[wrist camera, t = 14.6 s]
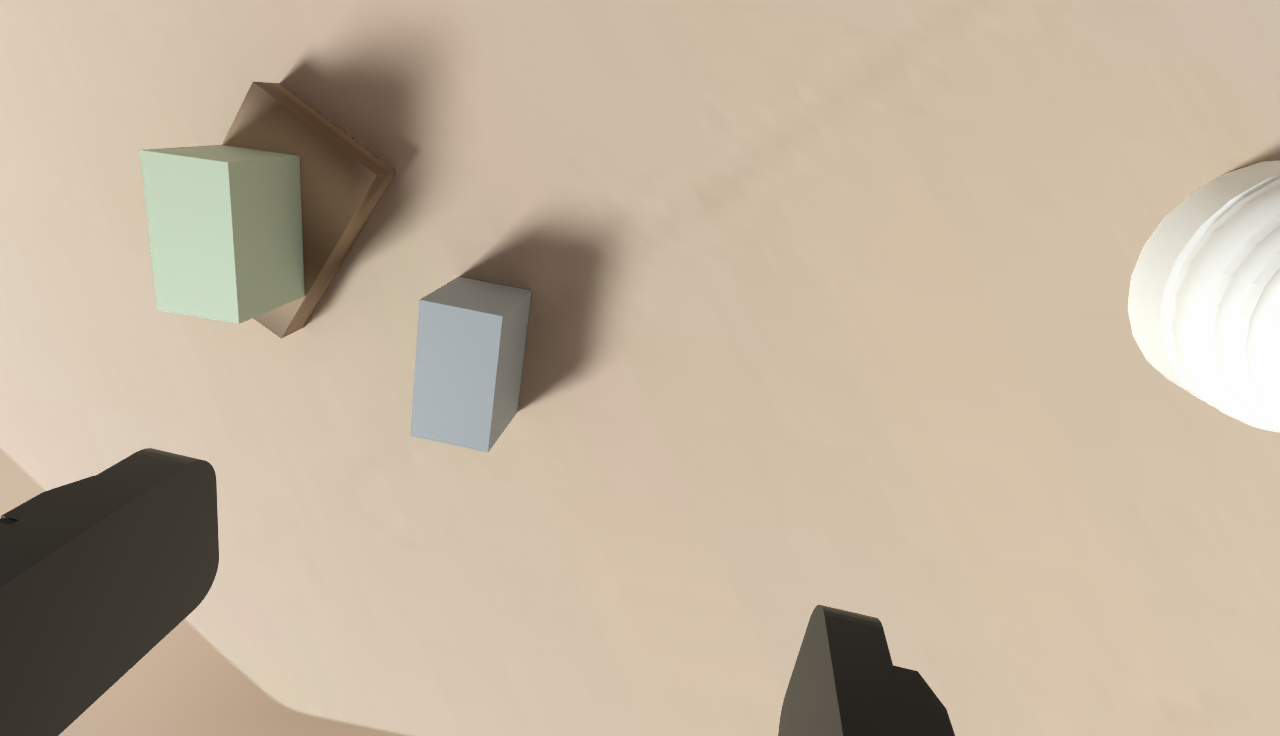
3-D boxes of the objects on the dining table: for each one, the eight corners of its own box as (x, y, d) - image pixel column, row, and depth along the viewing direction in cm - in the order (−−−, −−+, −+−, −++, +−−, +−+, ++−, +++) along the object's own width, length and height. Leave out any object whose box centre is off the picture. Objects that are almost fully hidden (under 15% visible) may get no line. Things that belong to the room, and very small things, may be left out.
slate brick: (459, 276, 44) (419, 299, 39) (532, 290, 44) (502, 316, 39) (449, 397, 47) (410, 435, 42) (517, 411, 47) (488, 452, 41)
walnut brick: (285, 83, 42) (252, 81, 40) (400, 171, 43) (376, 175, 40) (201, 247, 46) (167, 256, 44) (308, 324, 47) (281, 338, 44)
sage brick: (222, 144, 41) (139, 150, 35) (299, 155, 41) (227, 162, 35) (232, 284, 44) (157, 310, 38) (304, 296, 43) (238, 323, 38)
